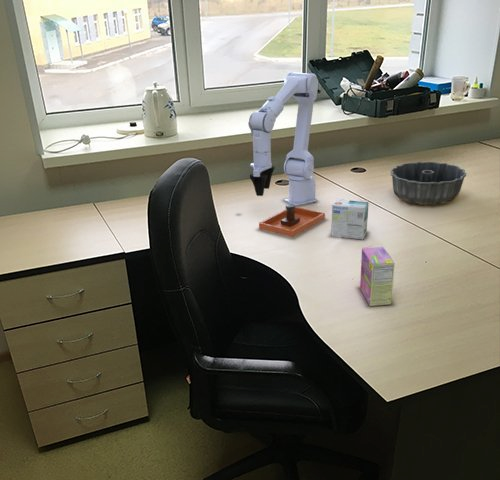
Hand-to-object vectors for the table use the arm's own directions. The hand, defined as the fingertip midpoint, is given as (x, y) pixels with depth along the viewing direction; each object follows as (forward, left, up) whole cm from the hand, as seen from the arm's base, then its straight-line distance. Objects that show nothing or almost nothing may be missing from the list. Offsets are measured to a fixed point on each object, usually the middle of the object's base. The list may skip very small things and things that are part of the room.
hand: (262, 191), depth 197 cm
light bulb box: (-17, +26, -10) cm, 33 cm away
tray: (-6, +9, -10) cm, 15 cm away
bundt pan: (-61, +12, -10) cm, 63 cm away
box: (+2, +64, -10) cm, 65 cm away
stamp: (-6, +8, -10) cm, 14 cm away
